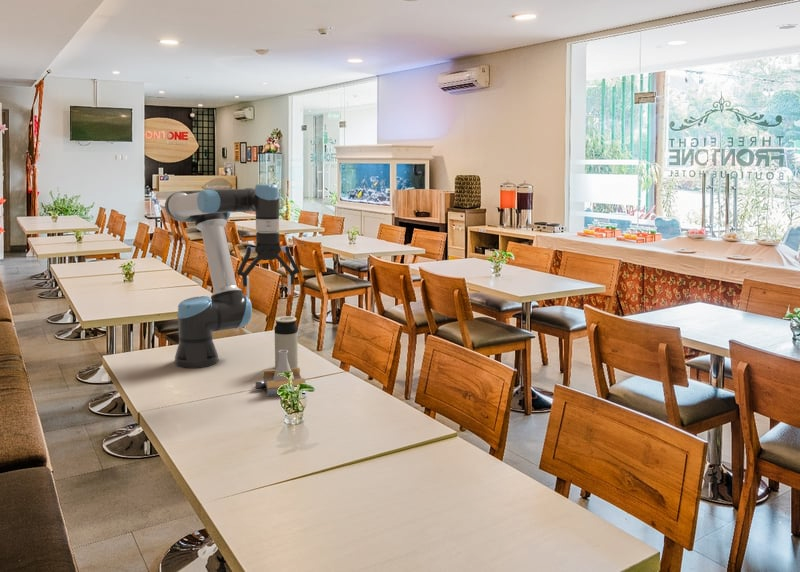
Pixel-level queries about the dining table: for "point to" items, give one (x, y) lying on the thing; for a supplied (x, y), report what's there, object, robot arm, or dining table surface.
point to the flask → (282, 365)
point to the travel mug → (286, 339)
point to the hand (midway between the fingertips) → (268, 295)
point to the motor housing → (277, 381)
